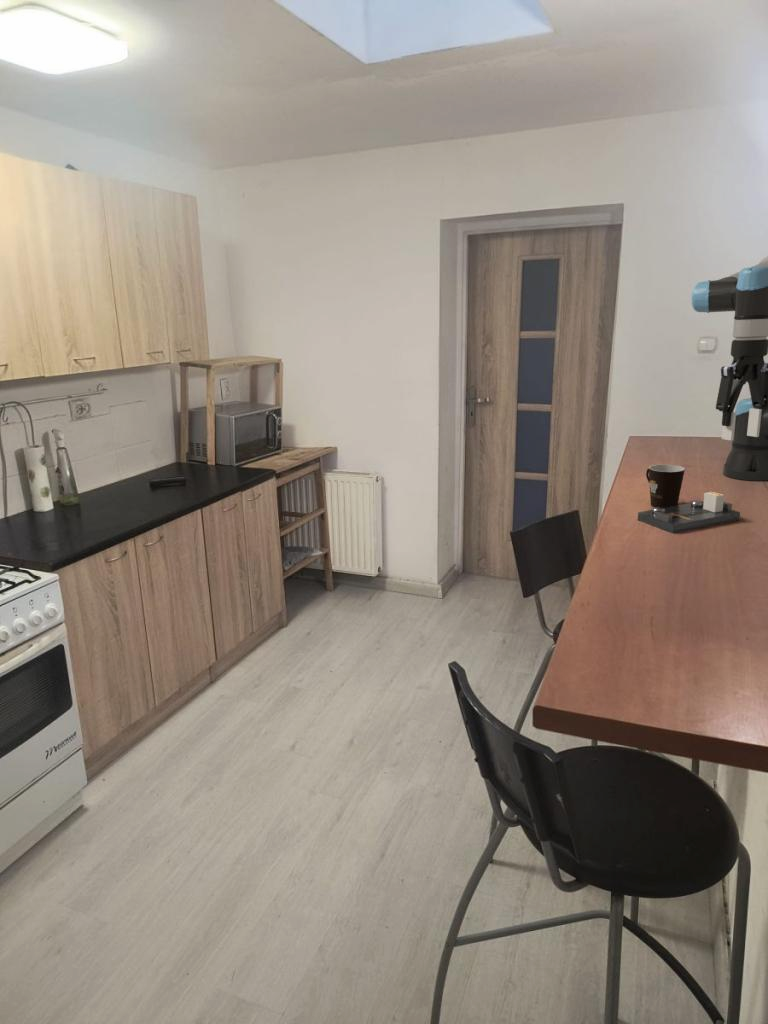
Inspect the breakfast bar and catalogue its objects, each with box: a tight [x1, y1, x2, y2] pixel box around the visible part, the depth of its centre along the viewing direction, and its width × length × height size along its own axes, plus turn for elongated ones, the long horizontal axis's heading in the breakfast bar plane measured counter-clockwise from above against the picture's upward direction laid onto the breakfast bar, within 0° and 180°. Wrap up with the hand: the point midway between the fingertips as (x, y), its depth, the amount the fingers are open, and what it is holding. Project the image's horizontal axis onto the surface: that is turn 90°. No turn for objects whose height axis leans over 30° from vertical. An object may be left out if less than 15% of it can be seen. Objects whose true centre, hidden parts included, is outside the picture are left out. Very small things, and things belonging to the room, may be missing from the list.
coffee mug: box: [645, 463, 686, 508], centre depth 174 cm, size 12×9×10 cm
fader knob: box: [703, 491, 725, 512], centre depth 161 cm, size 2×4×4 cm, turn 21°
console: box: [637, 499, 741, 534], centre depth 161 cm, size 20×12×4 cm, turn 110°
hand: (740, 437), depth 158 cm, fingers open, 7 cm apart
